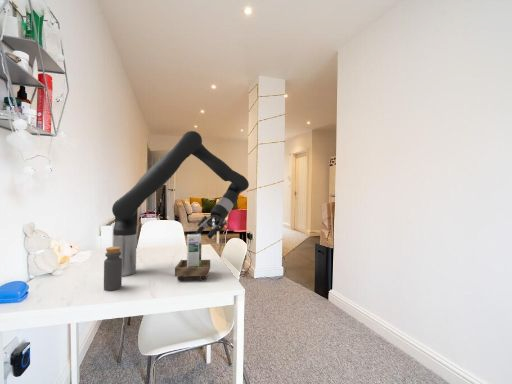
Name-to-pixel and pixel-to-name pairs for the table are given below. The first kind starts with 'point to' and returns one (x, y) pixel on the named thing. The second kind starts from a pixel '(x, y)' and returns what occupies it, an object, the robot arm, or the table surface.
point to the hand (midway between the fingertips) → (202, 236)
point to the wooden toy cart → (192, 270)
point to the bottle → (112, 269)
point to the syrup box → (194, 250)
